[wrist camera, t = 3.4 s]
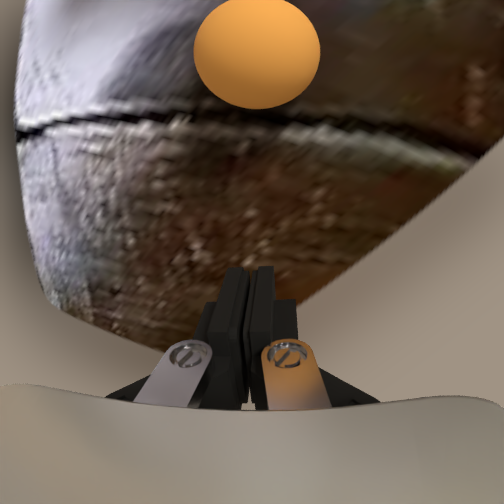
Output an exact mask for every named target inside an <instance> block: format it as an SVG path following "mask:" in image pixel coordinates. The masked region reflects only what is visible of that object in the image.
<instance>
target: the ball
mask: <svg viewBox="0 0 504 504" xmlns="http://www.w3.org/2000/svg"><path fill="white" fill-rule="evenodd" d="M319 59H320V45H319V40H318V37H317V34H316V31H315V29H314V27H313V25H312V24H311V22H310V21H309V19H308V18H307V17H306V16H305V15H304V14H303V13H302V12H301V11H300V10H299V9H298V8H296V7H295V6H293V5H292V4H290V3H288V2H286V1H284V0H229V1H227V2H225V3H223V4H221V5H220V6H218V7H217V8H216V9H214V10H213V11H212V12H211V13H210V14H209V15H208V16H207V17H206V19H205V20H204V21H203V23H202V24H201V26H200V28H199V30H198V33H197V35H196V39H195V43H194V60H195V65H196V68H197V71H198V73H199V75H200V77H201V79H202V81H203V82H204V84H205V85H206V86H207V87H208V88H209V90H210V91H212V92H213V93H214V94H215V95H216V96H218V97H219V98H221V99H222V100H224V101H226V102H228V103H230V104H233V105H235V106H238V107H243V108H249V109H265V108H272V107H276V106H279V105H282V104H284V103H287V102H288V101H290V100H292V99H294V98H295V97H297V96H298V95H299V94H300V93H302V92H303V91H304V90H305V89H306V87H307V86H308V85H309V84H310V82H311V81H312V79H313V78H314V76H315V73H316V71H317V68H318V64H319Z"/></svg>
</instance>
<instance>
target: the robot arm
mask: <svg viewBox="0 0 504 504" xmlns="http://www.w3.org/2000/svg"><path fill="white" fill-rule="evenodd" d="M249 387H250V393H251V401H252V403H255V409H256V410H241V406H242V403H247V402H248V395H249ZM0 504H504V408H502V407H501V406H500V405H498V404H497V403H494V402H493V401H490V400H486V399H482V398H477V397H468V396H432V397H421V398H415V399H407V400H399V401H391V402H380V401H378V400H377V399H376V398H374V397H372V396H370V395H368V394H367V393H365V392H363V391H361V390H359V389H357V388H355V387H353V386H352V385H350V384H348V383H346V382H344V381H342V380H340V379H339V378H337V377H335V376H333V375H331V374H330V373H328V372H326V371H324V370H323V369H321V368H319V367H318V365H317V363H316V359H315V357H314V354H313V351H312V349H311V348H310V346H309V345H307V344H306V343H305V342H302V341H300V340H298V328H297V314H296V300H295V299H287V300H276V296H275V280H274V267H273V266H260V267H258V270H257V271H253V274H252V279H251V285H250V275H249V271H244V269H243V267H237V268H228V269H227V272H226V275H225V278H224V281H223V284H222V287H221V291H220V294H219V297H218V300H217V302H207V303H206V304H205V307H204V310H203V312H202V315H201V318H200V320H199V323H198V326H197V329H196V331H195V334H194V337H193V339H192V340H187V341H182V342H179V343H177V344H175V345H173V346H172V347H170V348H169V349H168V350H167V351H166V353H165V354H164V356H163V357H162V359H161V361H160V362H159V363H158V365H157V366H156V368H155V370H154V371H153V372H152V374H151V375H149V376H147V377H145V378H143V379H140V380H139V381H136V382H134V383H132V384H130V385H128V386H126V387H124V388H122V389H120V390H117V391H115V392H113V393H111V394H109V395H108V396H106V397H99V396H93V395H88V394H82V393H77V392H72V391H67V390H61V389H56V388H51V387H46V386H41V385H32V384H12V385H4V386H0Z"/></svg>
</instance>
